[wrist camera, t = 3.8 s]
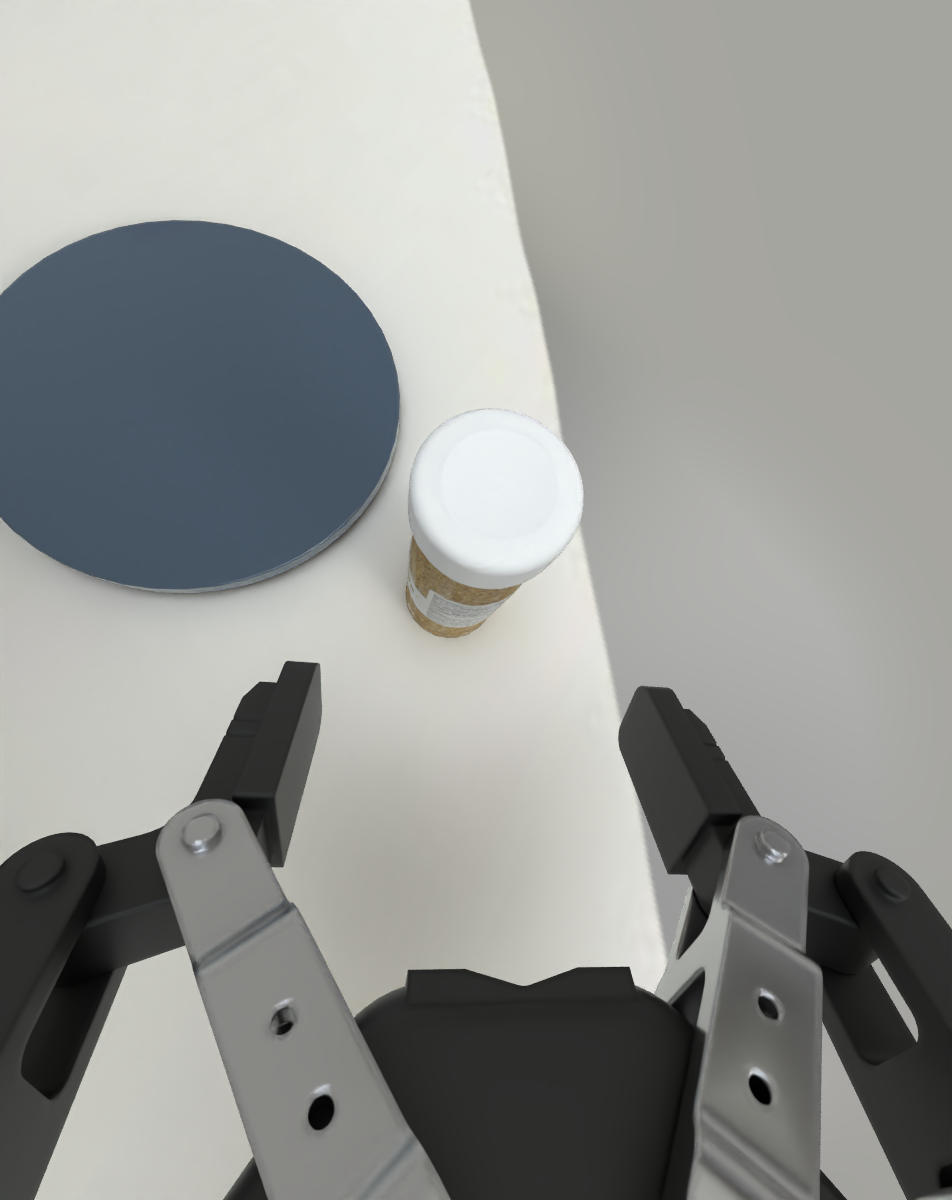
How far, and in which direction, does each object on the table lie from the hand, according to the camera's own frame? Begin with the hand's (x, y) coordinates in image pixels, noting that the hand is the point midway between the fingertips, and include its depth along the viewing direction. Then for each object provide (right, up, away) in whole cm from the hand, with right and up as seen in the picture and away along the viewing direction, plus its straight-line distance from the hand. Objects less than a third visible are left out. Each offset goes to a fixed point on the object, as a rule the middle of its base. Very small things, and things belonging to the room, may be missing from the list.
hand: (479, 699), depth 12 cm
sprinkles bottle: (-1, +3, +13) cm, 13 cm away
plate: (-14, +12, +13) cm, 23 cm away
